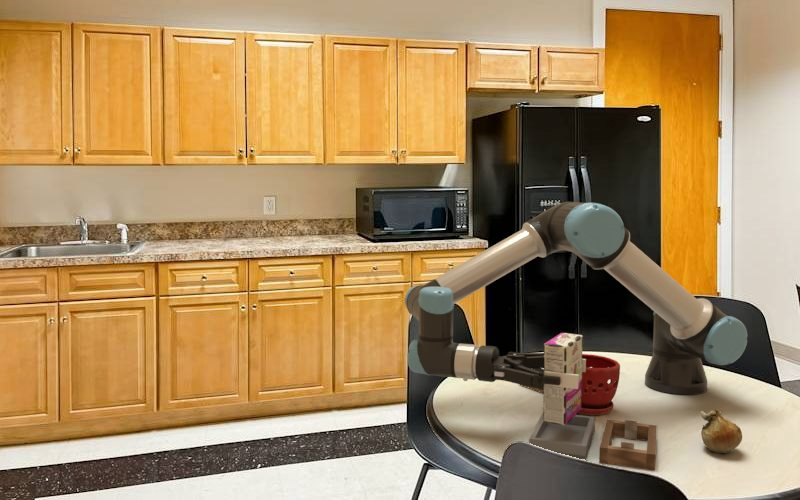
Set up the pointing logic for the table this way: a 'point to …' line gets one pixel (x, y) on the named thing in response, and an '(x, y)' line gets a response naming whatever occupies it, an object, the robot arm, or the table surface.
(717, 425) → the onion
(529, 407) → the table surface
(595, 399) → the plant pot
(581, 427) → the tray
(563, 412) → the candy bar box
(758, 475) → the table surface
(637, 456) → the brown rectangular open box
